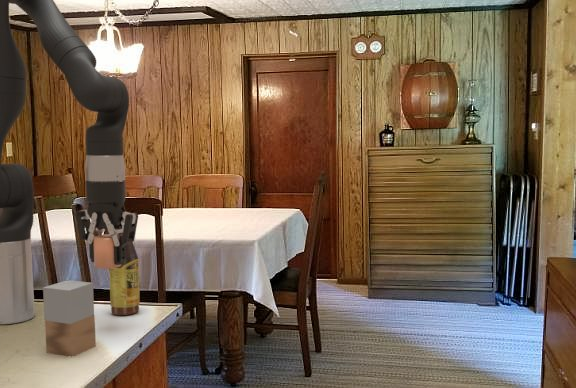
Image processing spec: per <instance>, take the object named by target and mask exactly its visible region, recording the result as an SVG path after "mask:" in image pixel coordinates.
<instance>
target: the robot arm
mask: <svg viewBox="0 0 576 388" xmlns="http://www.w3.org/2000/svg"><path fill="white" fill-rule="evenodd" d="M10 4H11V5H15V6H18V7H19V8H20V9H21V10H22V11H23V12H25V14H27V16H28V17H29V18H30V19H31V20H32V21H33V23H34V24H35V27H36V30H37V33H38V37H39V40H40V44H41V46H42V47H43V48H42V49H43V50H44V51H45V53H46V55H48V56H49V58H50V59H51V61H52V62H53V63H54V65H56V67H57V68H58V69H59V70H60V72H61V73H62V74H63V75H64V77H65V79H66V80H65V81H66V82H67V84H68V87H69V88H70V90H71V93H72V95H73V96H74V99H76V101H77V102H78V103H79V104H80V105H81V106H82V107H83V108H85V109H86V110H88V111H90V112H94V113H95V112H96V113H97V114H96V120H95V123H94V124H92V125H90V126H88V127H87V128H86V130H85V131H86V132H85V155H86V156H85V165H84V173H85V177H84V178H85V201H86V202H87V203H88V207H87V209H81V210H76V211H75V218H76V222H77V223H76V224H77V228H78V233H79V237H80V240H81V241H86V243H88V245H89V246H88V247H89V251H88V252H89V259H90V261H91V263H94V236H97V235H103V233H104V232H105V231H107V232H108V234H110V236H112V238H113V241H114V244H115V246H114V264H115V265H120V264H123V263H124V261H125V259H126V249H125V246H126V244H128V243H130V242H133V243H134V241H135V239H136V234H137V233H136V232H137V228H138V227H137V226H138V219H139V214H138V213H137V212H133V213H132V212H128V211H126V208H125V201H126V164H125V159H124V157H125V156H124V135H123V134H124V130H125V127H126V122H127V117H128V112H129V106H130V96H129V91H128V88H127V86H126V84H125V82H123V80H121V79H120V78H117V77H113V76H108V75H103V74H101V73H100V72H98V70H97V69H96V67H97V59H96V56H95V54H94V53H93V51H92V50H91V49H90V48H89V46H88V45H86V43H85V42H84V40H82V38H81V37H80V35H78V33H77V32H76V30H75V29H73V27H72V26H71V24H69V22H68V21H67V20H66V18H65V16H64V15H63V14H62V12H61V11H60V9H59V7H58V6H57V4H56V2H55V0H0V209H2V211H1V214H0V325H9V324H11V325H13V324H17V323H21V322H27V321H29V320H32V319H33V318H34V317H35V295H34V292H35V291H34V274H33V255H32V232H31V231H32V227H33V225H34V197H35V196H34V193H35V192H34V182H33V177H32V174H31V172H30V170H29V169H28V168H27V167H26V166H25V165H24V164H22V163H2V156H3V155H2V154H3V149H4V145H5V144H4V143H5V140H6V139H7V137H8V135H9V133H10V131H11V130H12V128H13V126H14V125H15V123H16V122H17V120H18V119H19V117H20V115H21V114H22V111H23V109H24V107H25V104H26V100H27V99H26V98H27V68H26V64H25V62H24V59H23V57H22V55H21V54H22V53H21V51H20V49H19V47H18V45H17V43H16V41H15V37H14V36H13V33H12V29H11V24H10ZM123 223H124V225H123ZM116 228H118V230H115V229H116ZM118 235H119V236H118ZM119 237H120V239H119Z"/></svg>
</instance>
